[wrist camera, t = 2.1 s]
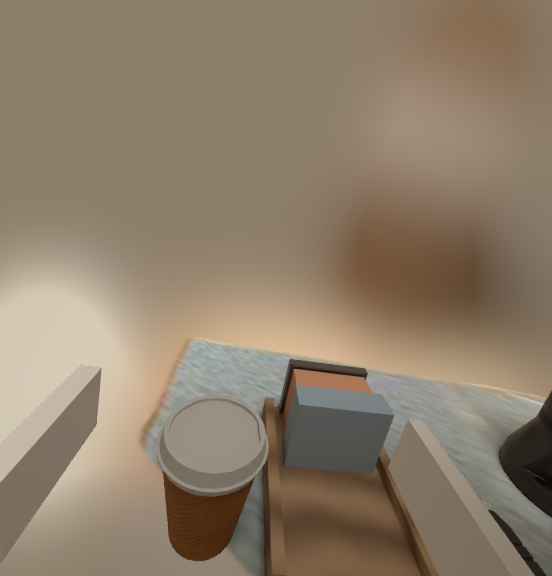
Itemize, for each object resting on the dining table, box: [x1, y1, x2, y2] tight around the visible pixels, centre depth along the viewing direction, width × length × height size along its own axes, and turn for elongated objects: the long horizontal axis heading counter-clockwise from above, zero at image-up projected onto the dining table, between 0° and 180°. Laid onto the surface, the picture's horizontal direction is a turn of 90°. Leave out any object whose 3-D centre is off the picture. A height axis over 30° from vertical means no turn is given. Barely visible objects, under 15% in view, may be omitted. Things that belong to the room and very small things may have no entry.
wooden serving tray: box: [262, 398, 439, 576], centre depth 37 cm, size 22×15×3 cm
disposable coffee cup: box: [156, 396, 269, 561], centre depth 29 cm, size 10×10×12 cm
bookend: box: [278, 359, 368, 414], centre depth 45 cm, size 2×11×8 cm, turn 93°
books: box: [282, 369, 394, 474], centre depth 40 cm, size 8×11×9 cm
